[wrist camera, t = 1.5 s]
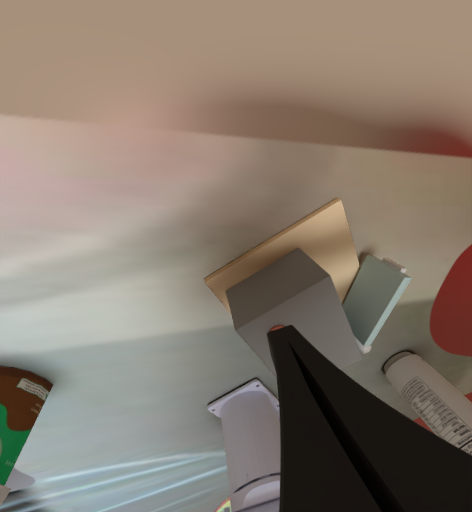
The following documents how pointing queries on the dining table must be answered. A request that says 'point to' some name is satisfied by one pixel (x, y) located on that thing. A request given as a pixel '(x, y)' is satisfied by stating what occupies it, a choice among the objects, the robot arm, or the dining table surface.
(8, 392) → the food container
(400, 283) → the grey-green rectangular block
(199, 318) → the dining table surface
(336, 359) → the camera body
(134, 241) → the dining table surface
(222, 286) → the beech board
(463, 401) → the energy drink can
